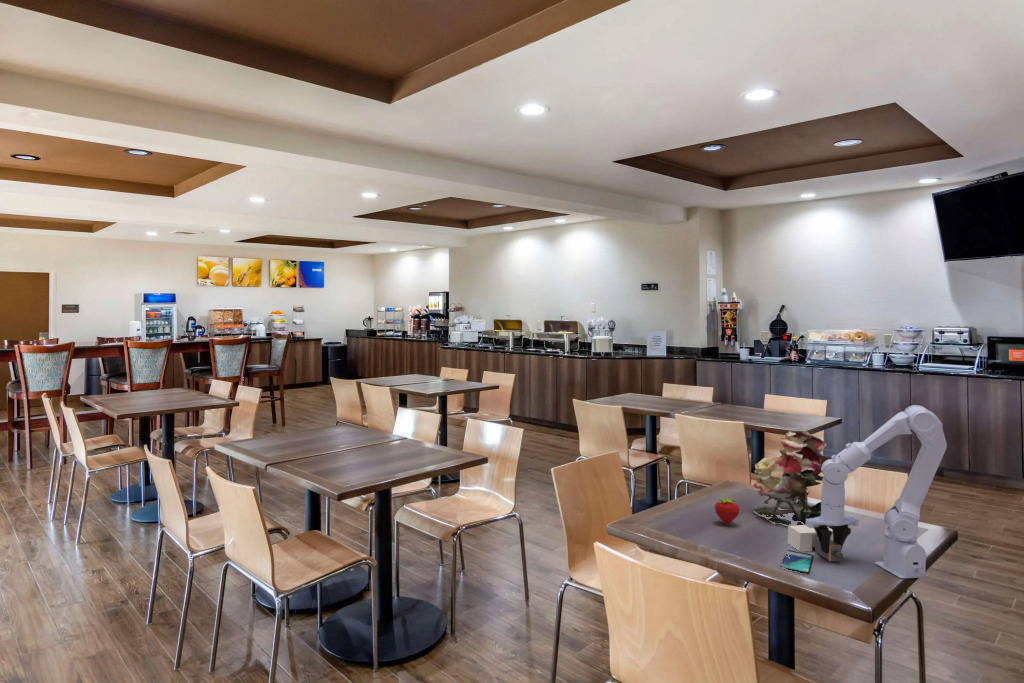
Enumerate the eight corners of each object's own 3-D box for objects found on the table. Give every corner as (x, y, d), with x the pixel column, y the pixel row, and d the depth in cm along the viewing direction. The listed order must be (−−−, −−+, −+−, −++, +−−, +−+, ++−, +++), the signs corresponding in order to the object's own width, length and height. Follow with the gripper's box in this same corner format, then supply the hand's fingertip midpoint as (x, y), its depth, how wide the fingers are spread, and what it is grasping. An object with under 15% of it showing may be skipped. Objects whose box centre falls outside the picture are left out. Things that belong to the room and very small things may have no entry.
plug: (845, 563, 165) (845, 548, 165) (834, 564, 165) (835, 548, 165) (824, 551, 174) (825, 536, 173) (814, 551, 173) (815, 536, 173)
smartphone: (813, 554, 171) (809, 573, 158) (813, 557, 171) (809, 576, 158) (786, 549, 175) (779, 567, 162) (786, 551, 175) (779, 570, 162)
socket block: (835, 550, 175) (835, 531, 175) (799, 551, 174) (800, 533, 174) (822, 542, 181) (822, 524, 181) (787, 543, 180) (788, 525, 179)
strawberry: (737, 529, 191) (738, 498, 190) (712, 525, 194) (713, 495, 194) (740, 524, 196) (741, 493, 196) (715, 520, 200) (716, 490, 199)
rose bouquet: (811, 505, 216) (814, 421, 214) (856, 536, 186) (860, 439, 185) (738, 504, 216) (740, 421, 214) (772, 535, 187) (775, 438, 185)
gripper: (847, 498, 173) (845, 544, 173) (799, 499, 171) (798, 547, 172) (864, 506, 166) (862, 554, 166) (815, 507, 164) (813, 557, 165)
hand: (831, 551), depth 169 cm, fingers closed on plug, 3 cm apart
